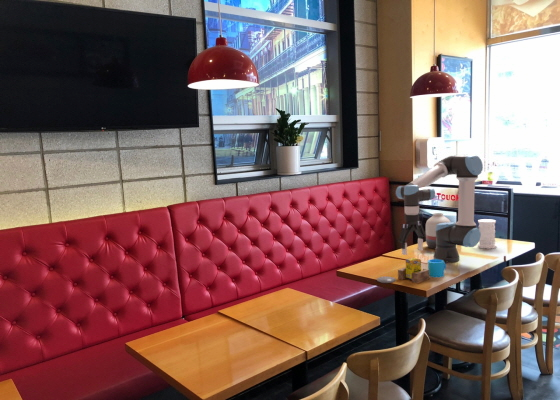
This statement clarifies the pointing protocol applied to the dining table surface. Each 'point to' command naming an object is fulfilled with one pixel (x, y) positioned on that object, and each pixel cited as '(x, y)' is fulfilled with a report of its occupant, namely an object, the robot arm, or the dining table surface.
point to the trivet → (386, 279)
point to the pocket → (414, 275)
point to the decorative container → (487, 233)
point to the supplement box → (412, 267)
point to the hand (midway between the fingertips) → (412, 252)
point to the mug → (436, 267)
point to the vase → (434, 228)
